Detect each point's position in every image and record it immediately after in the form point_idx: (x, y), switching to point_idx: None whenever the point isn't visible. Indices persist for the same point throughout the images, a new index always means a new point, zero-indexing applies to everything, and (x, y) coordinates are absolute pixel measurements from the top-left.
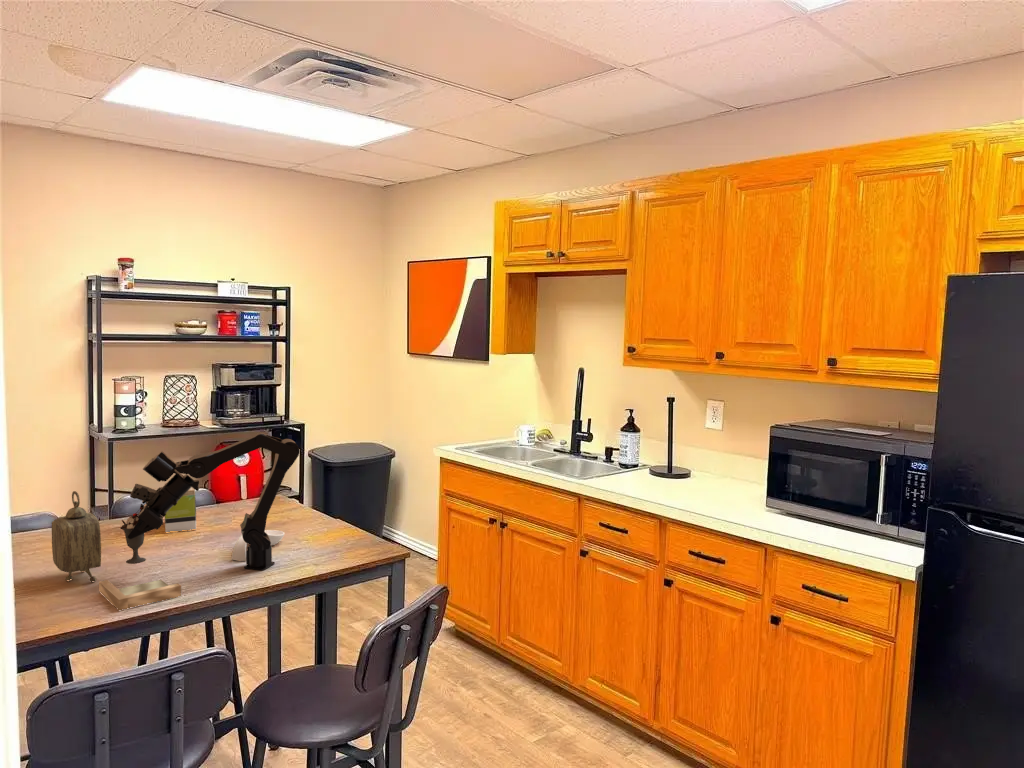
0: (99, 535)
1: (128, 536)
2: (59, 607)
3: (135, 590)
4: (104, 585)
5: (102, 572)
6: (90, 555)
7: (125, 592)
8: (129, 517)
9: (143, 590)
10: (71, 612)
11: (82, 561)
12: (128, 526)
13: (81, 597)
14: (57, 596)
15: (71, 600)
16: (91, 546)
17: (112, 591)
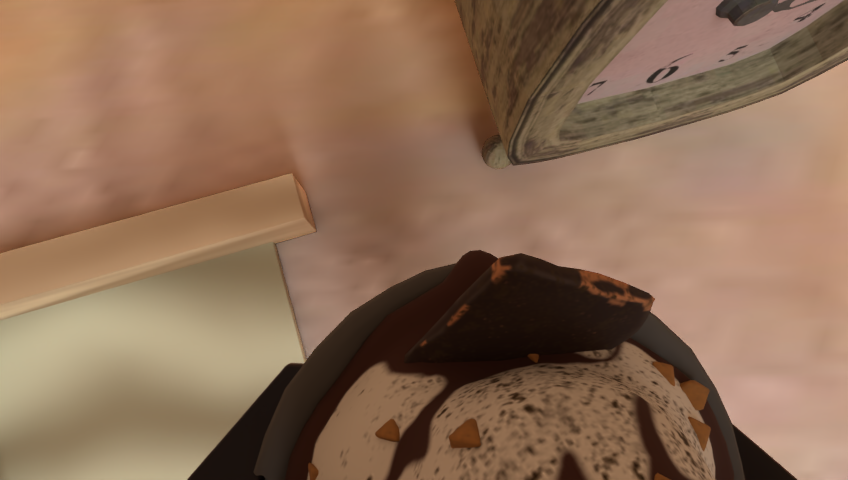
0: (568, 24)
1: (278, 380)
2: (170, 29)
3: (210, 379)
4: (199, 204)
5: (656, 198)
6: (487, 60)
7: (203, 324)
8: (594, 477)
9: (185, 425)
10: (63, 81)
11: (469, 31)
12: (368, 404)
13: (272, 114)
14: (343, 14)
15: (249, 74)
16: (503, 20)
17: (48, 252)
